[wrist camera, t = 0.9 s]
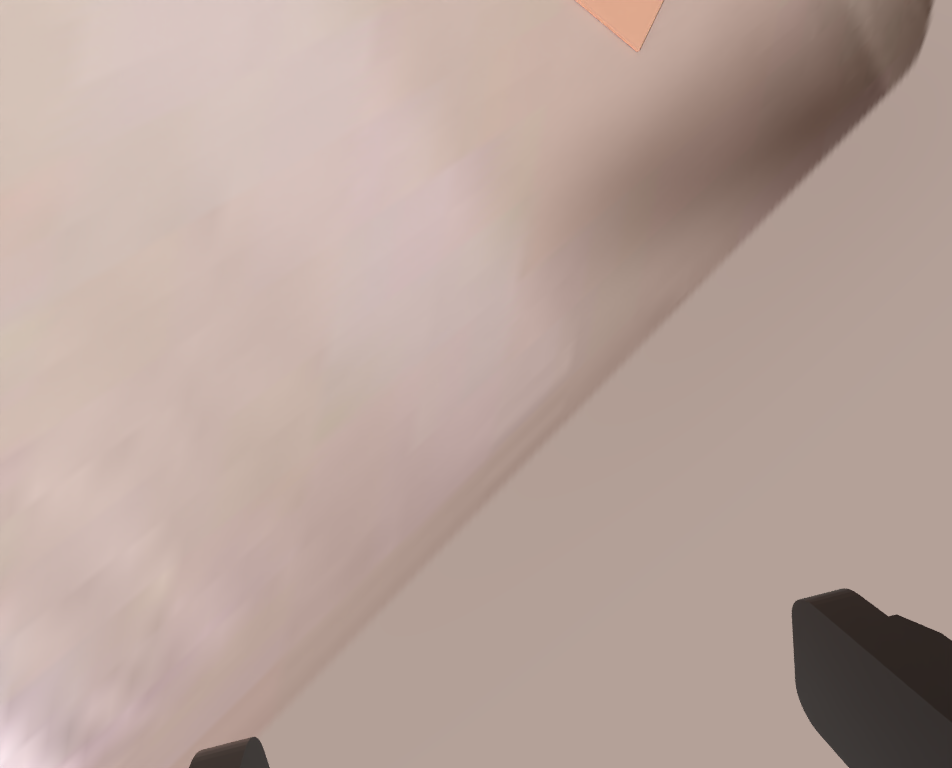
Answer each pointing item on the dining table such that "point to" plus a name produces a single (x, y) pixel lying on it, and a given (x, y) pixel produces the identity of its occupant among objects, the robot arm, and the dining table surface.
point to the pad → (625, 17)
